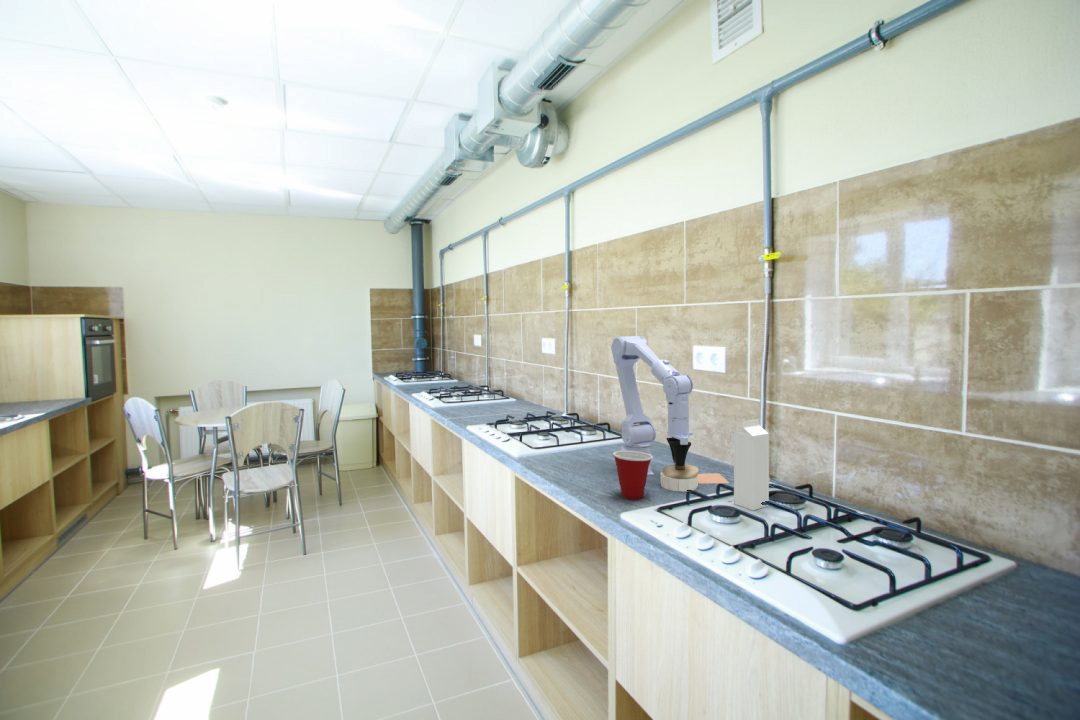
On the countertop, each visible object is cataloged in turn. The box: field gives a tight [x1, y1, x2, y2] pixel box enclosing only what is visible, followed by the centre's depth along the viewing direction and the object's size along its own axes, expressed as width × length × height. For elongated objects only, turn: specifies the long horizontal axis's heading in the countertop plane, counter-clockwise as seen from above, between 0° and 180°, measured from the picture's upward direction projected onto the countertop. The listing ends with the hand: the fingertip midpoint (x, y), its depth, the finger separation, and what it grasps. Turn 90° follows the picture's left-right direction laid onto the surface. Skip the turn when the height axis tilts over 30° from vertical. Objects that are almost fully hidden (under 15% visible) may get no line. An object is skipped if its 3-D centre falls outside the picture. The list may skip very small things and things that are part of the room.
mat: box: [698, 472, 730, 485], centre depth 153 cm, size 10×10×1 cm
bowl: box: [660, 471, 699, 492], centre depth 147 cm, size 10×10×4 cm
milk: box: [733, 419, 770, 511], centre depth 131 cm, size 6×6×22 cm
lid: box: [662, 456, 700, 478], centre depth 146 cm, size 10×10×5 cm
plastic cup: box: [612, 450, 654, 501], centre depth 140 cm, size 11×11×12 cm
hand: (678, 464), depth 146 cm, fingers open, 3 cm apart
